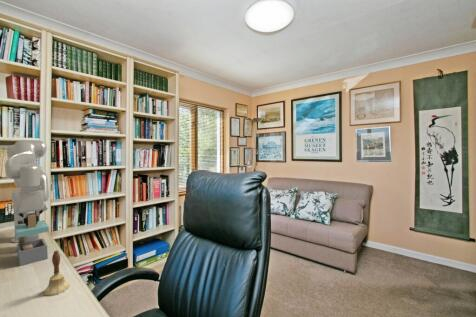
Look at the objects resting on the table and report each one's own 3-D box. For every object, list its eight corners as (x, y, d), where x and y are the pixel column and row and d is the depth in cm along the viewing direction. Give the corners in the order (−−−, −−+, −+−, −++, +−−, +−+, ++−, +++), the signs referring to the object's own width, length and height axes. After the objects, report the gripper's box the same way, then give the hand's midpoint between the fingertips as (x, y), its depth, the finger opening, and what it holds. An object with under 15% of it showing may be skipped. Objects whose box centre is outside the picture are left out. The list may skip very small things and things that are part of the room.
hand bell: (74, 285, 94) (73, 248, 93) (52, 298, 86) (51, 257, 85) (61, 281, 97) (60, 245, 96) (38, 293, 89) (37, 253, 88)
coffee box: (18, 248, 128) (17, 220, 128) (32, 244, 134) (31, 217, 133) (25, 252, 124) (24, 223, 124) (39, 247, 130) (38, 220, 129)
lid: (14, 229, 118) (14, 213, 118) (44, 224, 127) (43, 209, 127) (16, 237, 108) (16, 220, 107) (48, 231, 117) (48, 215, 116)
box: (17, 256, 118) (17, 243, 118) (43, 250, 126) (43, 238, 126) (19, 266, 109) (19, 252, 109) (47, 258, 117) (47, 245, 116)
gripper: (49, 186, 125) (50, 219, 126) (7, 190, 113) (8, 226, 114) (52, 188, 120) (52, 222, 121) (8, 192, 108) (9, 230, 109)
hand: (31, 223), depth 117 cm, fingers closed on lid, 3 cm apart
